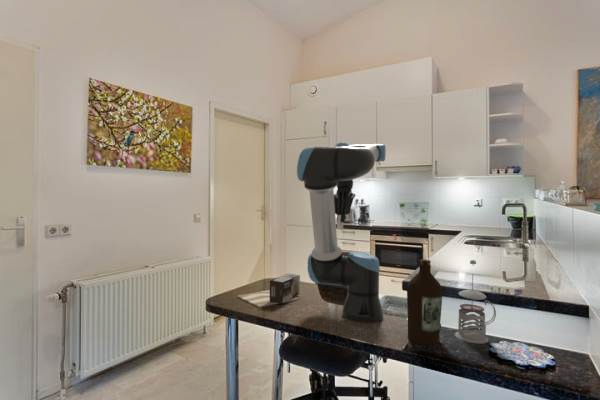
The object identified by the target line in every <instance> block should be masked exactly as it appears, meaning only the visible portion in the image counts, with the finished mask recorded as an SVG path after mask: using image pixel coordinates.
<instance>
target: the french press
mask: <svg viewBox="0 0 600 400" xmlns="http://www.w3.org/2000/svg"><path fill="white" fill-rule="evenodd" d="M469 264H471V265H477V261H476V260H474V259H473V260H471V259H470V261H469ZM471 278H472V280H471V281H472V282H471V283H472V284H471V285H472V286H471V289H464V290H461V291H459V292H458V295H459V296H460V297H462V298H464V299H469V300H471V303H464V304H463V303H462V304H460V305H459V307H460V309H458V326H457V327H458V328H457V329H458V330H457V331H456V332H455V333H454V336H455V337H456V338H457V339H459V340H460V341H464V342H465V343H466V342H467V343H471V344H486V343H489V339H488V337H487V336H486V331H487V325H490V324H492V323H493V322H494V321H495V319H496V315H497V311H496V308H495V307H494V305H493V303H492V302H490V300H488V299H487V295H485V294H484V293H483V292H481V291H478V290H476V289H474V274H472V277H471ZM474 300H476V301H477V300H478V301H480V300H484V306H487V304H489V305H491V306H492V309H493V316H492V318H490V320H488V321H486V314H485V312H484V311H485V307H483V306H480V305H476V304H473V301H474ZM474 313H475V314H474Z"/></svg>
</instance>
